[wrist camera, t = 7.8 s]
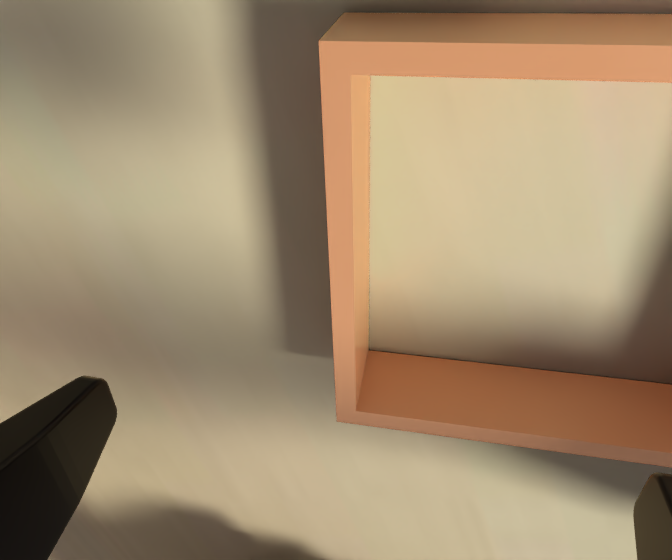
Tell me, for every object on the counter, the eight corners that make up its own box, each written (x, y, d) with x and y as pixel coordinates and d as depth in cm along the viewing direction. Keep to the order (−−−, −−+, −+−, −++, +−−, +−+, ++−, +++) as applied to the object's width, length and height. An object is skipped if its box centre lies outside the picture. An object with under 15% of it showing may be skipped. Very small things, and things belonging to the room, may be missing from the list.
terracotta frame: (912, 14, 14) (1024, 50, 11) (700, 401, 22) (732, 475, 20) (344, 12, 16) (318, 40, 13) (351, 360, 25) (336, 421, 22)
